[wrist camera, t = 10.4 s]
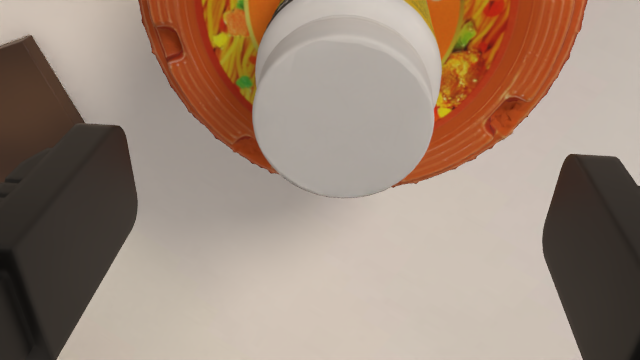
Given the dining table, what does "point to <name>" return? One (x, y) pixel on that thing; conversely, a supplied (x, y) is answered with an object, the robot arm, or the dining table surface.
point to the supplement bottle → (346, 93)
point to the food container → (455, 51)
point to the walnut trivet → (30, 105)
